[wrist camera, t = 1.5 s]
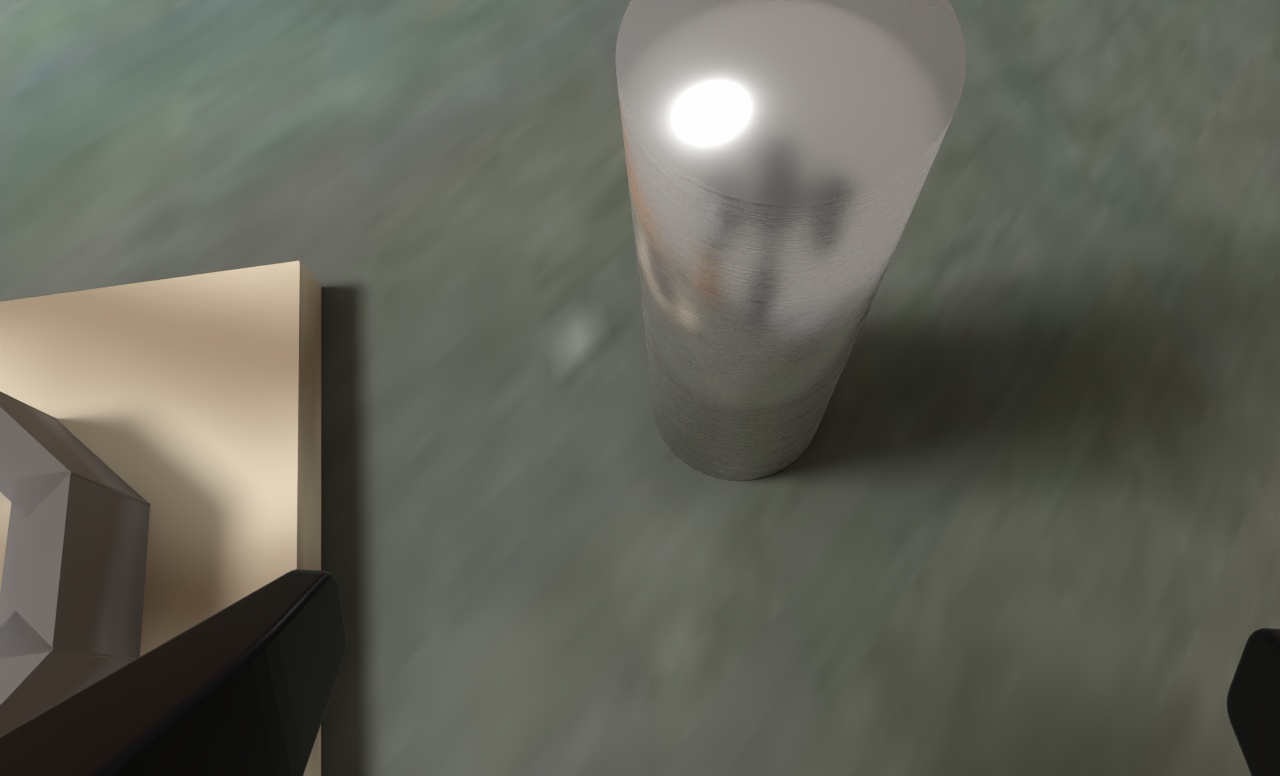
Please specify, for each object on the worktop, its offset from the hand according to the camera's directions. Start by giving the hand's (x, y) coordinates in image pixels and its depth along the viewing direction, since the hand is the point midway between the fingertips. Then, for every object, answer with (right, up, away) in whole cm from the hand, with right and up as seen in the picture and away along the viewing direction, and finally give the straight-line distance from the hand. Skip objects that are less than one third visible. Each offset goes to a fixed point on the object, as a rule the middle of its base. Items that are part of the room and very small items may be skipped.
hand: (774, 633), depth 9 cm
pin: (+1, +2, +15) cm, 15 cm away
